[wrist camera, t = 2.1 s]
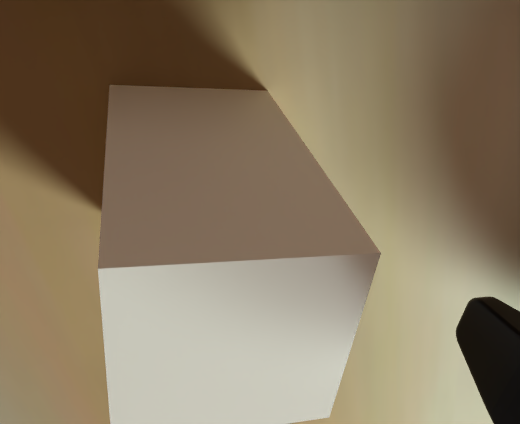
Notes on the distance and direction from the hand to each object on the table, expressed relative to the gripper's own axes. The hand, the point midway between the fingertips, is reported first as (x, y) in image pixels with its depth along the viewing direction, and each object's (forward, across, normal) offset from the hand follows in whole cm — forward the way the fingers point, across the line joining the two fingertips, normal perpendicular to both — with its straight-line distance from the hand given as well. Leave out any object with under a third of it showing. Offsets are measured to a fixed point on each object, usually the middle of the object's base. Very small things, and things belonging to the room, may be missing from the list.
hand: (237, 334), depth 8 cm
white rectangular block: (+6, 0, 0) cm, 7 cm away
